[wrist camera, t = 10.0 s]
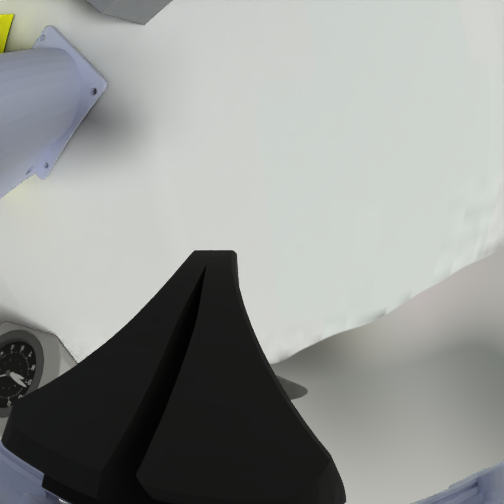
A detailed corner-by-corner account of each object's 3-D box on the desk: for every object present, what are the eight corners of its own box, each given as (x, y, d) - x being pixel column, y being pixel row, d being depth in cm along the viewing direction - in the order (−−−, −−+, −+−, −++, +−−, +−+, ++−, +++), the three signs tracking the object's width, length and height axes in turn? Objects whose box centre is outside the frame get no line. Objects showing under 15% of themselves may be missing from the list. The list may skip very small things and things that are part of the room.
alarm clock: (76, 340, 30) (28, 471, 14) (98, 370, 34) (63, 485, 18) (-6, 317, 30) (-50, 405, 14) (15, 344, 35) (-22, 427, 19)
